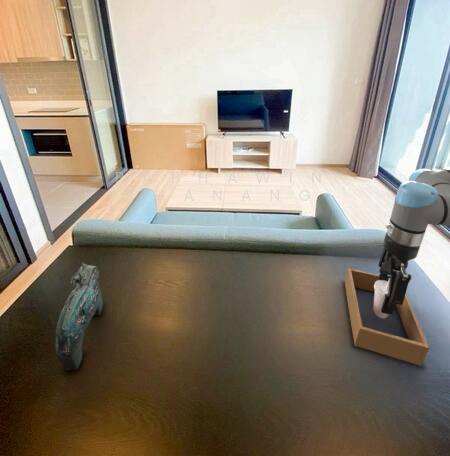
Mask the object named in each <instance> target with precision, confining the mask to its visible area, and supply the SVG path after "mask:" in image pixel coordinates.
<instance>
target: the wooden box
mask: <svg viewBox="0 0 450 456" xmlns="http://www.w3.org/2000/svg"><path fill="white" fill-rule="evenodd" d="M378 278H379V274H377V273H373V272H368V271H363V270H359V269H355V268H350V267H348V268H347V272H346V276H345V280H344V287H345V294H346V300H347V306H348V312H349V319H350V325H351V331H352V332H351V333H352V338H353V344H354V346H355V347H359V348H362V349H365V350H368V351H371V352H375V353H377V354H381V355H384V356H387V357H391V358H394V359H398V360H401V361H403V362H407V363H411V364H413V365H417V366H420V367H421V366H422V365H423V363H424V361H425V359H426V356H427V355H428V353H429V351H430V346H429V343H428V342H427V341H428V340H427V339H426V336H425V335H424V332H423V330H422V327H421V324H420V322H419V320H418V318H417V315H416V313H415V311H414V308H413V306H412V304H411V301H410V299H409V297H408V294H407V293H406V294H405V298H404V301H403V305H400V304H396V308H397V311H398V314H399V317H400V319H401V323H402V326H403V328H404V330H405V334H406V336H407V338H404V337H402V336H397V335H393V334H390V333H386V332H383V331H379V330H376V329H372V328H369V327H365V326H363V322H362V317H361V311H360V306H359V303H358V298H357V297H358V296H357V291H356V289H357V288H358V289H360V290H364V291H369V292H373V293H375V289H374V284H375V282H376V281H378Z"/></svg>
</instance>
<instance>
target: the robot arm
mask: <svg viewBox="0 0 450 456" xmlns="http://www.w3.org/2000/svg"><path fill="white" fill-rule="evenodd" d="M429 225H436V226H445V227H450V167H447V168H443V169H439V170H437V171H436V170H435V171H434V170H432V169H429V168H419V169H417V170H415V171H413V172H412V173H411V174H410V176H409V178H408V181H404V182H402V183H401V184H400V185H399V187H398V189H397V192H396V195H395V197H394V203H393V207H392V211H391V215H390V218H389V222H388V224H386V225H385V228H386V229H387V230H386V233H385V235H384V239H383V245H382V246H383V249H382V252H381V255H380V259H379V260H378V264H377V266H378V268H379V270H378V271H379V272H378V273H379V274H378V275H379V278H378V280H385V281H389V278H390V282H389V290H388V294H385V299H384V302H383V305H382V309H381V312H382V313H385V314H388V316H389V315H390V316H393V315H394V313H395V310H396V308H397V306H396V304H400V305H403V301H404V298H405V294H407V290H408V287H409V283H410V282H411V280H412V274H411V273H408V272H407V268H408V266H409V261H412V260H415V259H416V258H417V257H418V254H419V251H420V249H421V245H422V243H423V240H424V237H425V234H426V232H427V231H426V230H427V228H428V226H429Z"/></svg>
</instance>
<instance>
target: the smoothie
mask: <svg viewBox="0 0 450 456" xmlns="http://www.w3.org/2000/svg"><path fill="white" fill-rule="evenodd" d="M389 282H390V278H389V281H385V280H378V281H376V282H375V284H374V289H375V292H374V294H373V295H374V296H373V307H372V312H373V313H374V315H376V317H378V318H379V319H387V318H388V316H389V314H385V313H382V312H381V309H382V305H383V302H384V299H385V294H388V290H389Z"/></svg>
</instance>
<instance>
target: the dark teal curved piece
mask: <svg viewBox="0 0 450 456" xmlns="http://www.w3.org/2000/svg"><path fill="white" fill-rule="evenodd" d="M81 264H82V266H80V267H79V269H78V270H77V271H76V272H75V273H73V275H72V277H71V278H70V284H71V285H73V288H74V289H72V291H71V292H70V294H69V295H68V297H67V298H66V301H65V303H64V305H63V308H62V309H61V311H60V313H59V316H58V320H57V323H56V328H55V334H54V337H55V338H54V351H55V354H56V358H57V359H58V361H59V362H60V363H61V364H62V365H63V367H64V369H65V370H66V371H71V370H78V368H79V366H80V364H81V361H82V359H83V350H82V349H83V339H84V335H85V332H86V329H87V328H88V326H89V325H90V322H91V320H92V319H93V317H95V316H100V315H101V313H102V309H103V307H104V301H103V296H102V291H101V288H100V283H99V278H100V272H99V269H98V267H97V266H96V265H89V264H86V262H82V263H81Z"/></svg>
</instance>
